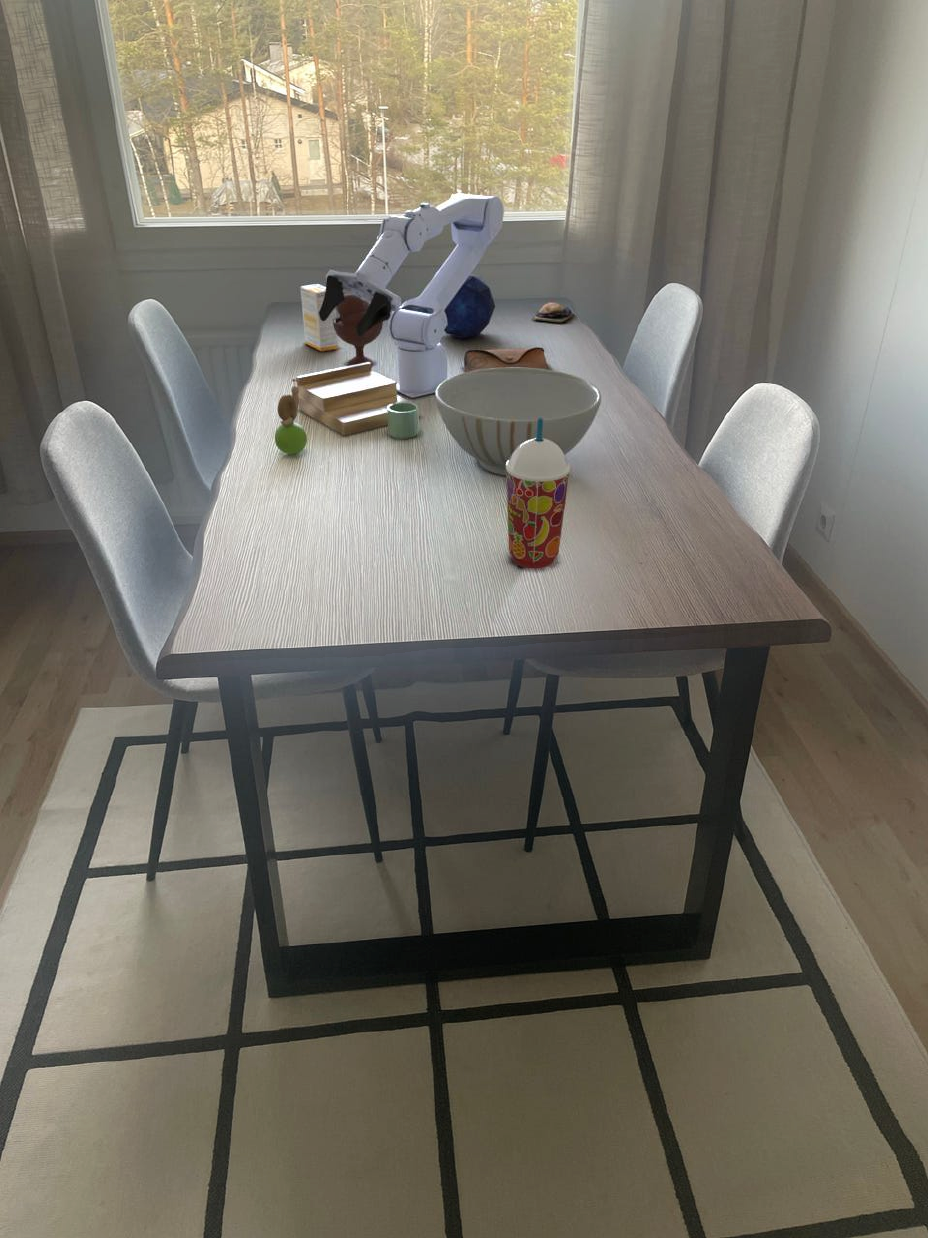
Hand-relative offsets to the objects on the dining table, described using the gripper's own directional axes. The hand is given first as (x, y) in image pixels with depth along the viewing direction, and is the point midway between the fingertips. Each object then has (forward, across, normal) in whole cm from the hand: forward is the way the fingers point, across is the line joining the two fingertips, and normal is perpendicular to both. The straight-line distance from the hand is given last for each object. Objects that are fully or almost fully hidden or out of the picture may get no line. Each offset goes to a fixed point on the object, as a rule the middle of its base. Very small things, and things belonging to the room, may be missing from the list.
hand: (339, 324), depth 162 cm
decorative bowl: (+9, +39, +5) cm, 40 cm away
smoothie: (+33, +53, -15) cm, 64 cm away
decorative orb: (-42, 0, +51) cm, 66 cm away
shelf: (+6, +4, +17) cm, 18 cm away
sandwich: (-65, +13, +62) cm, 91 cm away
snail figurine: (+24, +4, +5) cm, 25 cm away
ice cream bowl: (-15, -11, +36) cm, 41 cm away
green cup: (+9, +16, +11) cm, 22 cm away
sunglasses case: (-27, +19, +35) cm, 48 cm away
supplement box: (-20, -26, +43) cm, 54 cm away
